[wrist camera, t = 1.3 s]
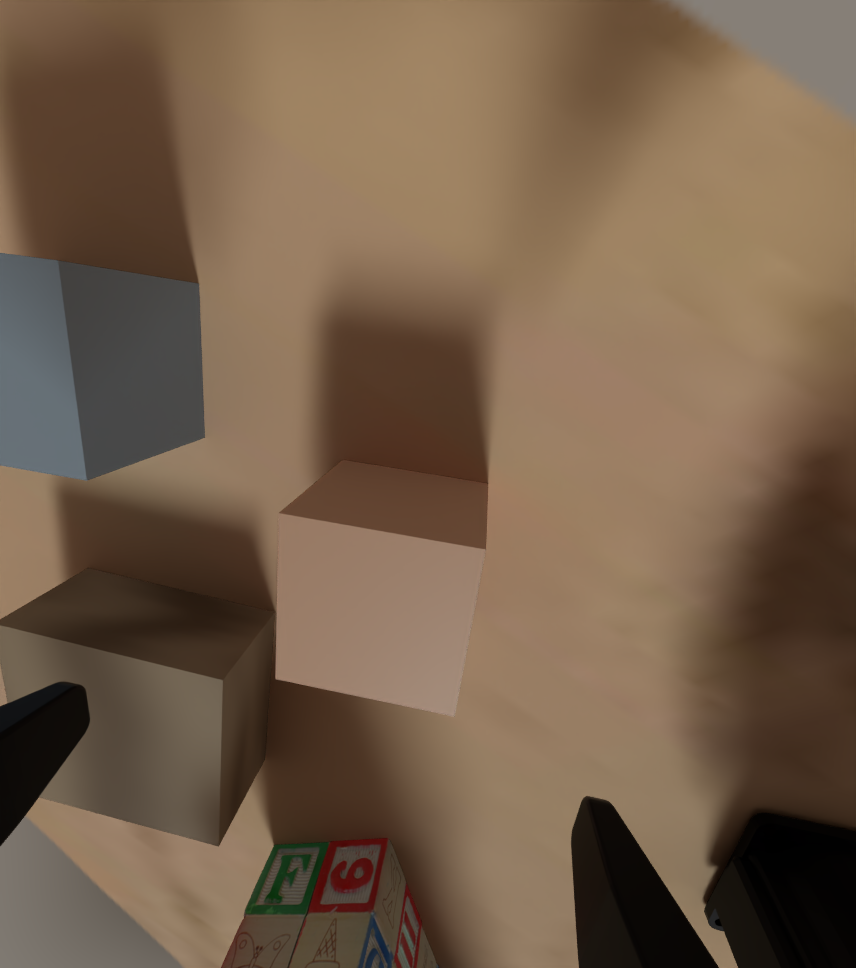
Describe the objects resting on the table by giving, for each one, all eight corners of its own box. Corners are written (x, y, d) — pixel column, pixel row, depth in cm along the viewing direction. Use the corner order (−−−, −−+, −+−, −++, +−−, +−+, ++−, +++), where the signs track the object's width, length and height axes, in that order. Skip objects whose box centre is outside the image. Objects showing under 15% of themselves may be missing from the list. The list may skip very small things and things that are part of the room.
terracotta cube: (488, 482, 15) (485, 549, 10) (465, 609, 17) (454, 716, 12) (343, 459, 16) (278, 513, 11) (334, 584, 17) (275, 679, 13)
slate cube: (200, 284, 14) (57, 260, 10) (206, 437, 16) (87, 480, 11) (56, 265, 15) (-147, 233, 10) (76, 415, 16) (-90, 449, 12)
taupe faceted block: (278, 608, 18) (222, 680, 14) (267, 753, 21) (218, 846, 17) (93, 564, 19) (-7, 623, 15) (106, 712, 21) (23, 793, 18)
